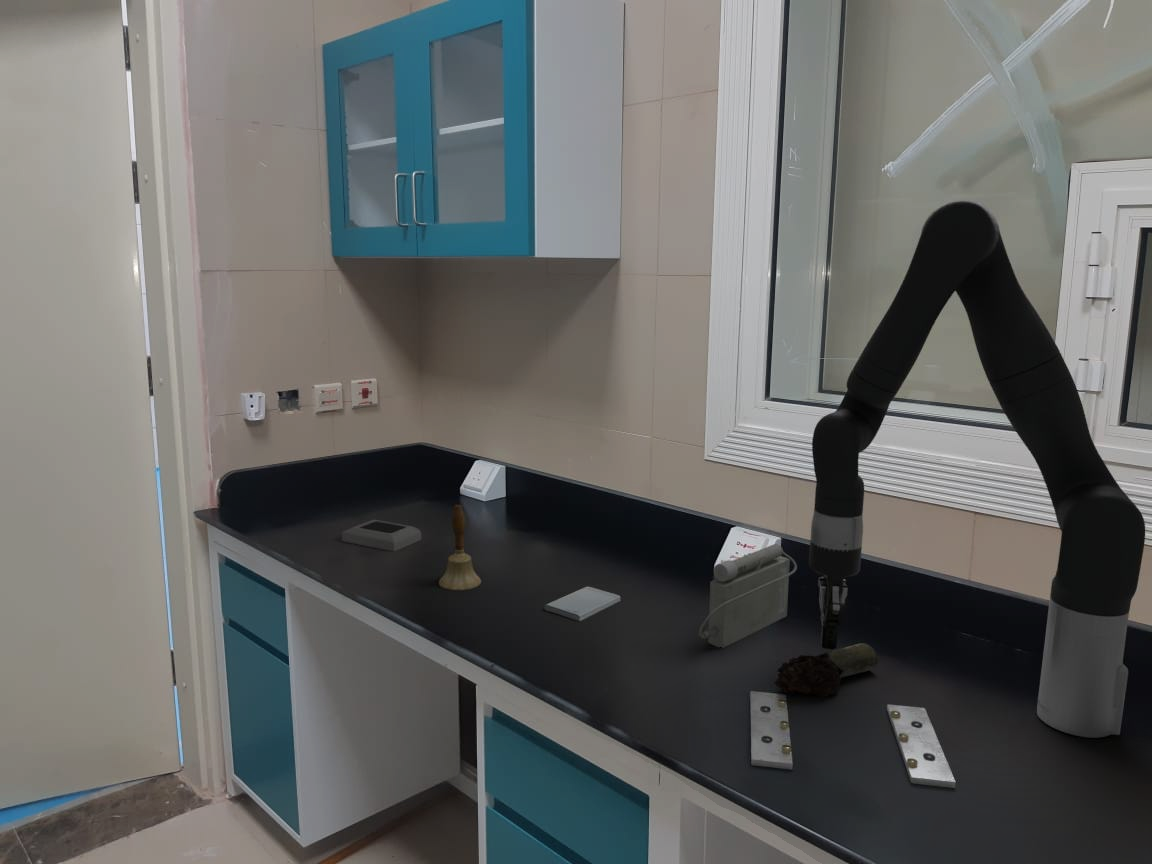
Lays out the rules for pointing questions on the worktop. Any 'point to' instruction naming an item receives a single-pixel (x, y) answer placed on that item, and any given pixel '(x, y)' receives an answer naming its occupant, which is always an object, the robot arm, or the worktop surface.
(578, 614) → the hard drive
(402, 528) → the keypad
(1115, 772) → the worktop surface
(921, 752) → the hinge leaves
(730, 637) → the geiger counter
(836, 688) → the cylinder with dark lump
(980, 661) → the worktop surface
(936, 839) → the worktop surface
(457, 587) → the hand bell
